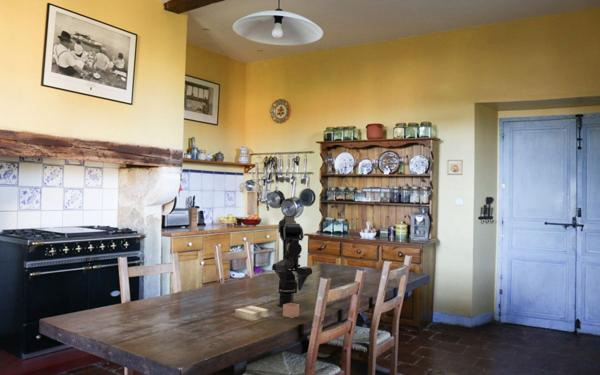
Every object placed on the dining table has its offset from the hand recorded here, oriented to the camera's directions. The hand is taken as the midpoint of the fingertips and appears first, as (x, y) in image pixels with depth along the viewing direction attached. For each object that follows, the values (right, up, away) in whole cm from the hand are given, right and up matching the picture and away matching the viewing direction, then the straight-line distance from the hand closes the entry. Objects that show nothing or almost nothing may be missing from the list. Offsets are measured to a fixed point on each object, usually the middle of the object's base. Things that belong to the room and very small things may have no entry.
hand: (291, 288), depth 209 cm
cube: (0, -12, 0) cm, 12 cm away
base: (-17, -11, -3) cm, 20 cm away
